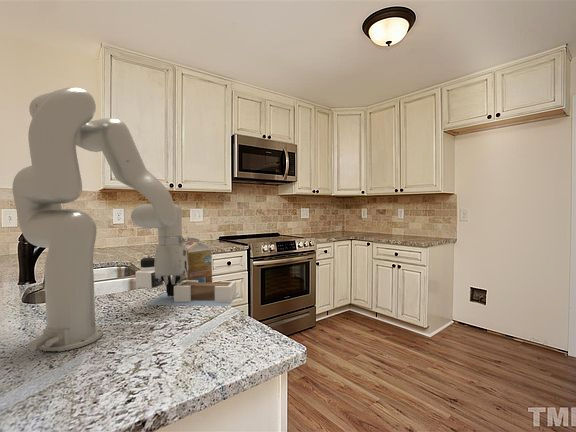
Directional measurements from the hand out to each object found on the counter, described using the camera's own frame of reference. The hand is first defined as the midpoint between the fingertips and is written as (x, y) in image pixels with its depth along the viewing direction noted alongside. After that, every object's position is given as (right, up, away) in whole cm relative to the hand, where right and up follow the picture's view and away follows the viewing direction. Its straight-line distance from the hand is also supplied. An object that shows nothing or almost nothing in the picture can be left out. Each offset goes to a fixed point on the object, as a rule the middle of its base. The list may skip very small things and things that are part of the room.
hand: (171, 295), depth 102 cm
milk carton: (0, -1, +24) cm, 24 cm away
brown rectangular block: (+12, -1, -1) cm, 12 cm away
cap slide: (+5, -1, 0) cm, 5 cm away
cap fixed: (+19, -1, -1) cm, 19 cm away
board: (+8, -2, -1) cm, 8 cm away
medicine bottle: (-15, -2, +17) cm, 23 cm away
